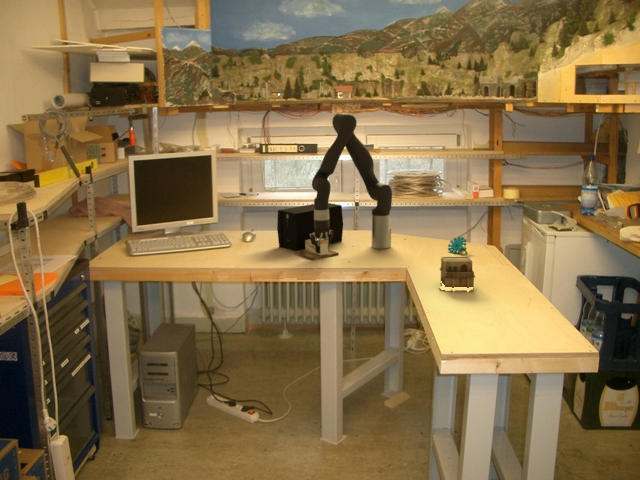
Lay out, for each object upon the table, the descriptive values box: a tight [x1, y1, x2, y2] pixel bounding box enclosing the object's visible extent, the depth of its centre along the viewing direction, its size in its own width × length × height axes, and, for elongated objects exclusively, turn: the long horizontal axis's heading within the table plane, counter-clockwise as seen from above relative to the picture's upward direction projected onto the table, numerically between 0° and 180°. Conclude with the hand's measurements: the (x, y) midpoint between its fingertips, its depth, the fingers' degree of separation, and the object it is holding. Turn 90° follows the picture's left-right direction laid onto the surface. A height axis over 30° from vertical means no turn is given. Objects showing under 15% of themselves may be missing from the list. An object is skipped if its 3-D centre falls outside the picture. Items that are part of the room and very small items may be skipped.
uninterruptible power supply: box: [276, 202, 344, 252], centre depth 324 cm, size 16×34×20 cm, turn 131°
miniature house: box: [439, 256, 476, 288], centre depth 251 cm, size 15×14×11 cm
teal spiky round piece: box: [447, 236, 468, 254], centre depth 305 cm, size 11×6×10 cm
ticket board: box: [293, 240, 339, 261], centre depth 305 cm, size 16×16×6 cm
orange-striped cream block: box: [316, 239, 328, 255], centre depth 301 cm, size 4×5×7 cm
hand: (322, 252), depth 301 cm, fingers open, 4 cm apart
